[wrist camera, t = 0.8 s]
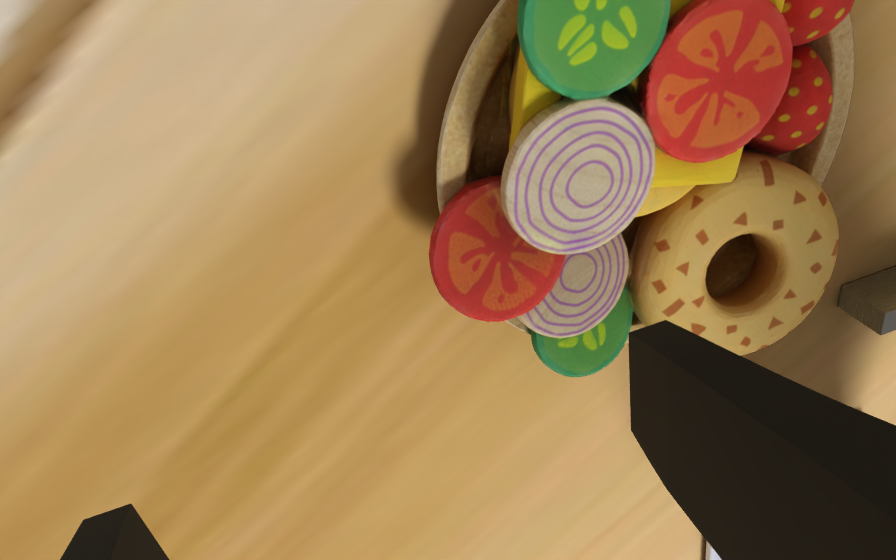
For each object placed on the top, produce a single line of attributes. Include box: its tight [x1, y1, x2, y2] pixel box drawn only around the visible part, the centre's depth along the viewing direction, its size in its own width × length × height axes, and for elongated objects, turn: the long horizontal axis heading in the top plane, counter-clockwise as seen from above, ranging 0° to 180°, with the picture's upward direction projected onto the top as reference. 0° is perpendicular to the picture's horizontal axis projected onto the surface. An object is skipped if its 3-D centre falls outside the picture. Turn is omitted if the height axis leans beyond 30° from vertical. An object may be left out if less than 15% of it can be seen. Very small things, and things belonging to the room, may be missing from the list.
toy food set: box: [429, 0, 854, 377], centre depth 18 cm, size 13×13×3 cm
